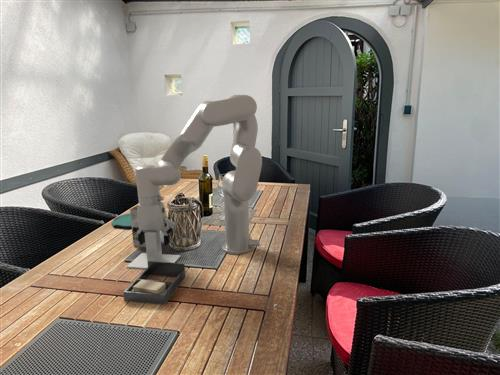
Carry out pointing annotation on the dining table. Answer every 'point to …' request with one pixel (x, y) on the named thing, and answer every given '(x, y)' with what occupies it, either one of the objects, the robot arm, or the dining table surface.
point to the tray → (157, 270)
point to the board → (142, 263)
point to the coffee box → (133, 217)
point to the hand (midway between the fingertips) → (154, 244)
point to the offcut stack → (149, 287)
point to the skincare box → (153, 246)
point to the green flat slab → (122, 220)
